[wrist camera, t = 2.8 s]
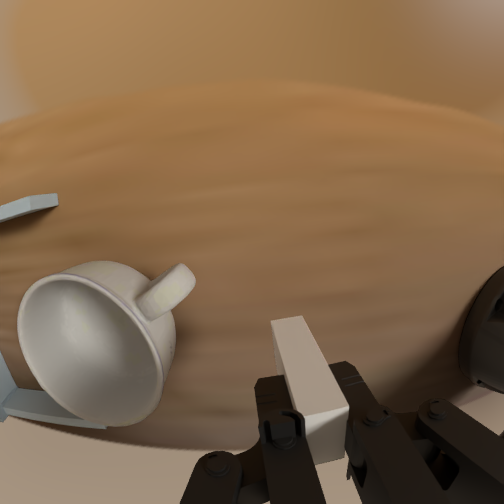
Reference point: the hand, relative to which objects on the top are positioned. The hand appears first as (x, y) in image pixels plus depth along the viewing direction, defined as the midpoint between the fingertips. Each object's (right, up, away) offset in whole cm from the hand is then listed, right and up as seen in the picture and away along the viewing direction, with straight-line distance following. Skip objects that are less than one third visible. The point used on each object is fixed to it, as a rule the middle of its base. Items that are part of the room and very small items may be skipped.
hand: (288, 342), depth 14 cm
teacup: (-11, 0, +9) cm, 14 cm away
